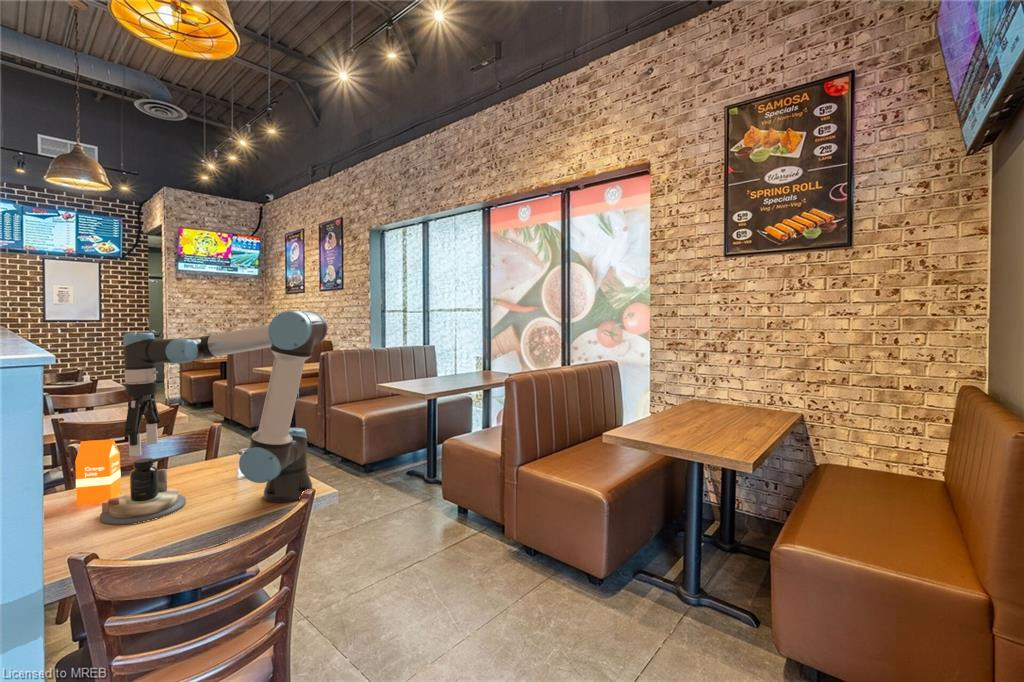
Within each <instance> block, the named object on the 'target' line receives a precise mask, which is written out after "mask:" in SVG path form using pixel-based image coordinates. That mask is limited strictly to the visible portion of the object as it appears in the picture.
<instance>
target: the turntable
mask: <svg viewBox="0 0 1024 682" xmlns="http://www.w3.org/2000/svg"><path fill="white" fill-rule="evenodd" d="M157 470H158V495H157V496H156V497H154V498H152V499H149V500H145V501H132V500H131V495H130V493H127V494H125V495H122V496H119V497H118V496H117V497H116V498H112V499H108V507H109V515H110V516H112V517H115V518H131V517H139V516H144V515H149V514H153V513H156V512H159V511H162V510H165V509H167V508H170V507H171V506H173V505H175V504H176V503H177V502H178V495H179V492H178V490H176V489H174V488H168V475H167V472H168V470H167V468H161V469H160V468H159V469H157Z"/></svg>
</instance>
